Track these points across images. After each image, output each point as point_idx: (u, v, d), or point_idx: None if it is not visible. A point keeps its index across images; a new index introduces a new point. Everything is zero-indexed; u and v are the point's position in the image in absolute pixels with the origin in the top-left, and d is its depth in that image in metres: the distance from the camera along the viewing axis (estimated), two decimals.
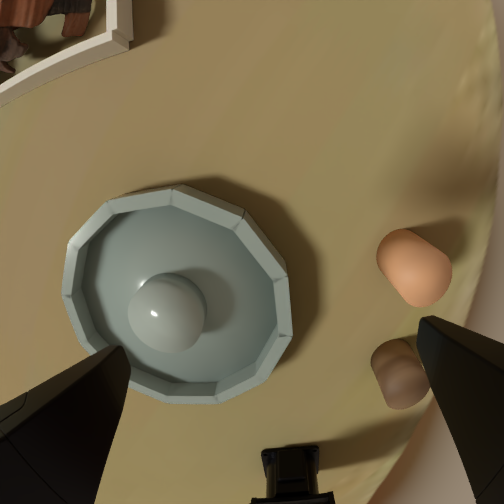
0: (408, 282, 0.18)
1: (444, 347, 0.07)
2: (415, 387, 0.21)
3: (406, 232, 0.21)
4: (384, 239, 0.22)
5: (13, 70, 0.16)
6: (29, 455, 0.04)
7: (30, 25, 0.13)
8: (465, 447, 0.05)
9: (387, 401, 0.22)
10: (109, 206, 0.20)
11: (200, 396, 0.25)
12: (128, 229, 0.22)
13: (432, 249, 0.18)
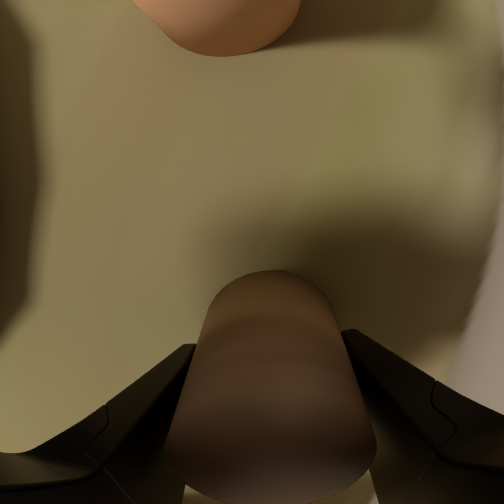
0: None
1: (355, 365, 0.07)
2: (300, 454, 0.05)
3: None
4: None
5: None
6: (124, 483, 0.04)
7: None
8: (375, 474, 0.05)
9: (185, 480, 0.05)
10: None
11: None
12: None
13: None
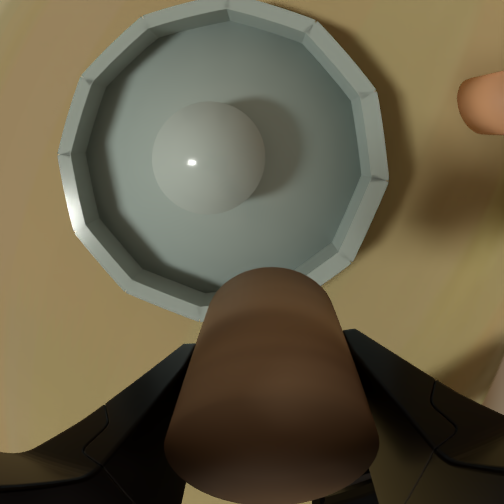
0: None
1: None
2: (301, 451, 0.05)
3: None
4: (462, 84, 0.15)
5: None
6: (124, 482, 0.04)
7: None
8: (375, 474, 0.05)
9: (185, 477, 0.05)
10: (144, 21, 0.13)
11: None
12: (162, 59, 0.15)
13: None
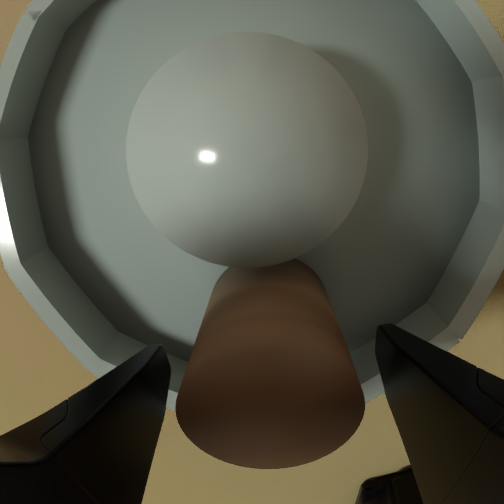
0: None
1: (396, 358, 0.07)
2: (296, 407, 0.06)
3: None
4: None
5: None
6: (77, 471, 0.04)
7: None
8: (417, 463, 0.05)
9: (193, 438, 0.06)
10: None
11: None
12: None
13: None
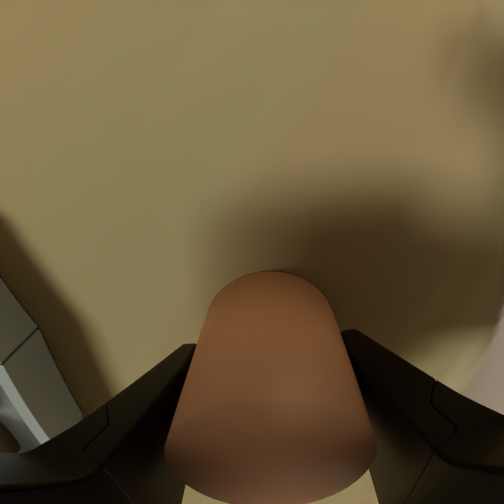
0: (197, 468, 0.05)
1: (354, 365, 0.07)
2: None
3: (264, 288, 0.08)
4: (215, 299, 0.09)
5: None
6: (124, 482, 0.04)
7: None
8: (375, 474, 0.05)
9: None
10: None
11: None
12: None
13: (277, 395, 0.04)
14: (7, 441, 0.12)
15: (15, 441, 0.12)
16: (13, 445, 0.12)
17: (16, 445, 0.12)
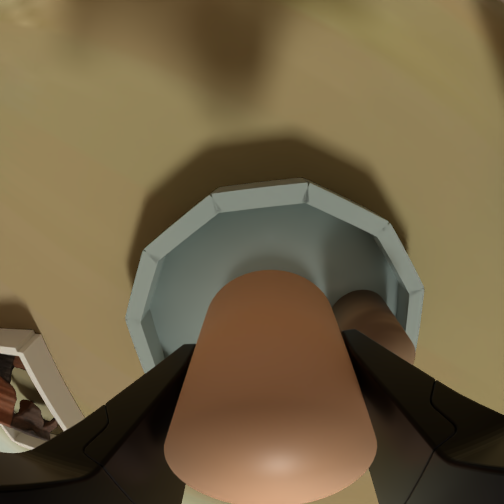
0: (196, 467, 0.05)
1: (354, 365, 0.07)
2: None
3: (264, 286, 0.08)
4: (214, 297, 0.09)
5: None
6: (124, 482, 0.04)
7: (14, 399, 0.19)
8: (375, 474, 0.05)
9: None
10: None
11: (408, 312, 0.17)
12: None
13: (277, 393, 0.04)
14: (358, 295, 0.18)
15: (363, 290, 0.19)
16: (366, 293, 0.18)
17: (368, 291, 0.18)
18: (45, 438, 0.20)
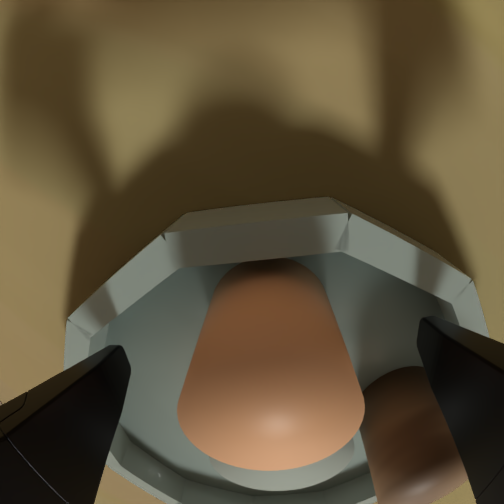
0: (205, 426, 0.06)
1: (444, 347, 0.07)
2: (426, 482, 0.07)
3: (264, 269, 0.09)
4: (220, 281, 0.10)
5: None
6: (29, 455, 0.04)
7: None
8: (465, 447, 0.05)
9: (430, 502, 0.08)
10: (112, 465, 0.12)
11: None
12: (155, 442, 0.14)
13: (276, 349, 0.05)
14: (404, 379, 0.11)
15: (410, 368, 0.11)
16: (414, 373, 0.11)
17: (417, 370, 0.11)
18: None
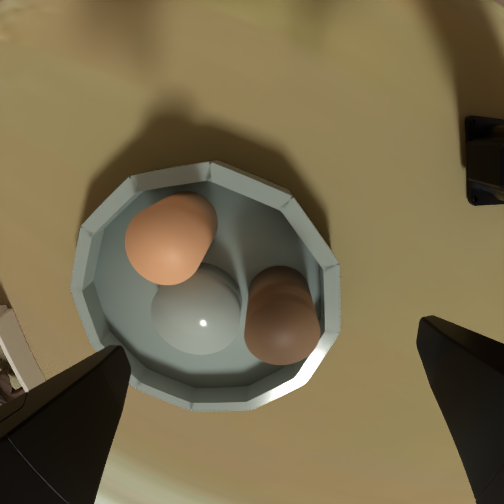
0: (135, 250, 0.15)
1: (444, 347, 0.07)
2: (274, 327, 0.16)
3: (177, 193, 0.18)
4: None
5: None
6: (29, 455, 0.04)
7: None
8: (465, 447, 0.05)
9: (294, 361, 0.17)
10: (95, 344, 0.21)
11: (324, 288, 0.19)
12: (125, 329, 0.22)
13: (160, 205, 0.14)
14: (273, 270, 0.20)
15: (280, 266, 0.20)
16: (282, 268, 0.20)
17: (285, 267, 0.20)
18: None
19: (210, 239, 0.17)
